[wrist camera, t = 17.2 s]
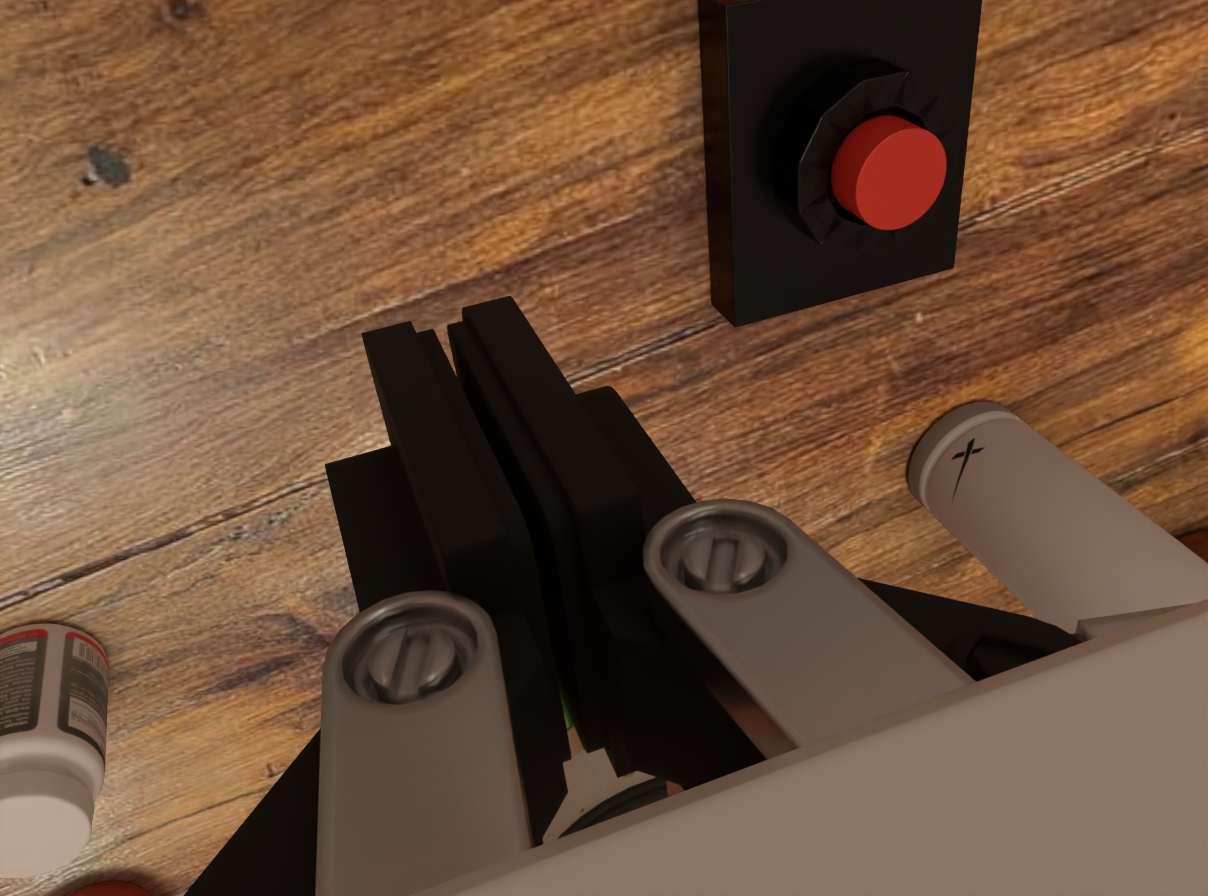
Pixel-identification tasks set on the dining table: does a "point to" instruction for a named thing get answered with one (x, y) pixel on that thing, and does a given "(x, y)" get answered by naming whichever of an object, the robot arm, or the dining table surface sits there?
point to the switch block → (824, 142)
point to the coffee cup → (598, 789)
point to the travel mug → (1047, 521)
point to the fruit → (111, 889)
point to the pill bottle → (49, 745)
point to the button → (888, 172)
